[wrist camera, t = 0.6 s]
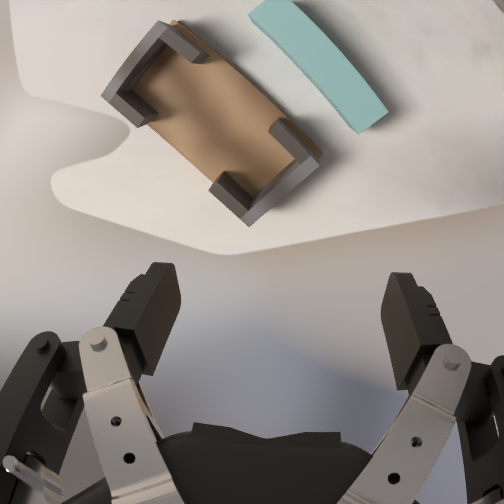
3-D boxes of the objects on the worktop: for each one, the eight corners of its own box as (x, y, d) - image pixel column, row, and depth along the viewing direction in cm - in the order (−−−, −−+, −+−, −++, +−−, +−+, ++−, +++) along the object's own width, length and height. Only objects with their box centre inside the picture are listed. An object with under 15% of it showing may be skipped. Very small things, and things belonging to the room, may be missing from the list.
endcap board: (176, 21, 24) (160, 14, 20) (321, 152, 30) (327, 164, 26) (117, 94, 28) (95, 98, 24) (252, 213, 34) (247, 232, 31)
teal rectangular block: (280, 2, 23) (279, -10, 19) (375, 106, 27) (388, 112, 23) (252, 23, 24) (247, 14, 20) (348, 126, 29) (358, 134, 25)
